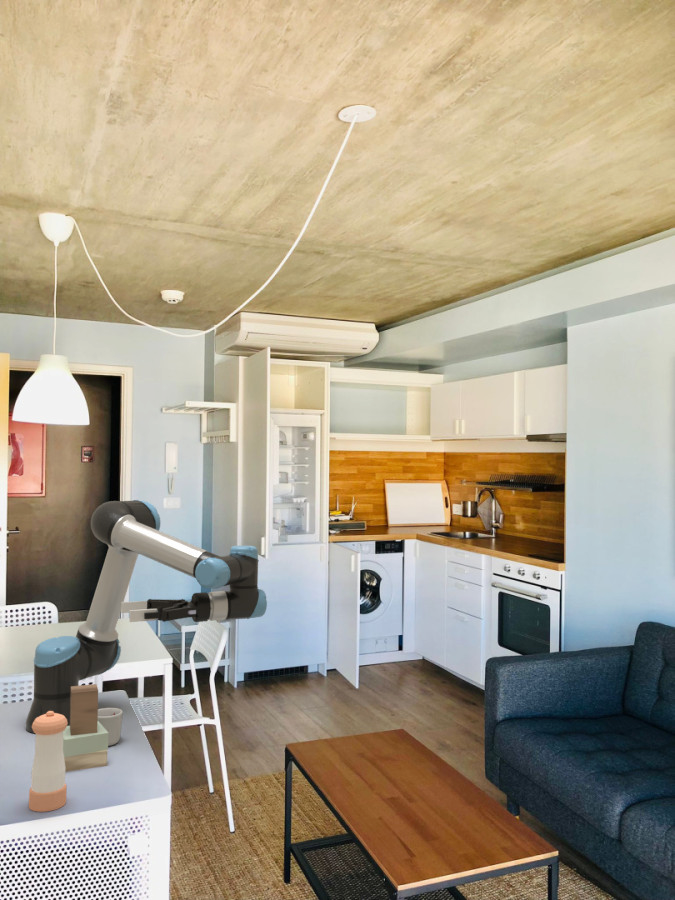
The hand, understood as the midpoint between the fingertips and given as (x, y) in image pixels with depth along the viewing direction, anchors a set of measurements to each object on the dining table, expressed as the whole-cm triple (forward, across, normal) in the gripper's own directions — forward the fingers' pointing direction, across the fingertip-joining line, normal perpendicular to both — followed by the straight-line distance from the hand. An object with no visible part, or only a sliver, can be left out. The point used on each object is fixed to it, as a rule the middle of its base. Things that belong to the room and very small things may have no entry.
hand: (125, 611), depth 186 cm
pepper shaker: (+19, -24, -35) cm, 47 cm away
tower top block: (+10, -2, -32) cm, 33 cm away
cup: (+4, +10, -35) cm, 37 cm away
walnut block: (+10, -2, -28) cm, 29 cm away
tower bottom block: (+10, -2, -36) cm, 37 cm away
